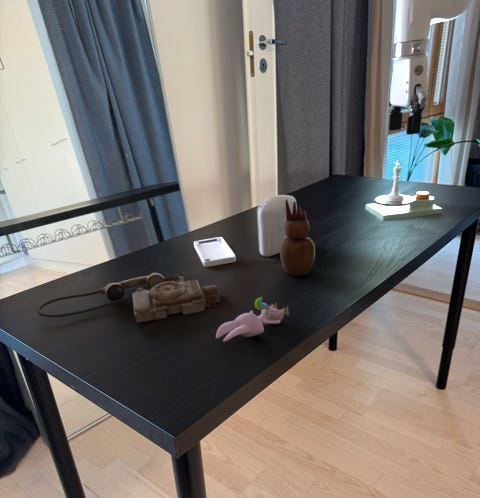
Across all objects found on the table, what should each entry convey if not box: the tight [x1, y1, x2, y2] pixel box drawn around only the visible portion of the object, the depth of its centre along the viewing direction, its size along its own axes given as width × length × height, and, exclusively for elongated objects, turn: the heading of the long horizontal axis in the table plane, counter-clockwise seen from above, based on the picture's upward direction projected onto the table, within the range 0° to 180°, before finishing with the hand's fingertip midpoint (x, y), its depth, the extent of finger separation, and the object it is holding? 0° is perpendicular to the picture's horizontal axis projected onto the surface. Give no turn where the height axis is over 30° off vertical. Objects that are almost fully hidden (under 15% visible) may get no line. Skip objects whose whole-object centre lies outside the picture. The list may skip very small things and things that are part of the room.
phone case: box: [193, 236, 237, 268], centre depth 98 cm, size 7×1×15 cm
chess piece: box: [385, 159, 404, 201], centre depth 110 cm, size 5×5×10 cm
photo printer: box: [256, 194, 298, 257], centre depth 94 cm, size 10×4×12 cm, turn 132°
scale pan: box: [374, 194, 414, 207], centre depth 112 cm, size 10×10×1 cm
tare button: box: [415, 190, 430, 200], centre depth 113 cm, size 3×3×2 cm
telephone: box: [37, 272, 222, 324], centre depth 77 cm, size 15×33×4 cm, turn 105°
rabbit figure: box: [215, 296, 290, 343], centre depth 65 cm, size 6×6×15 cm
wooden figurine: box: [279, 199, 316, 277], centre depth 81 cm, size 7×6×15 cm
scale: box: [364, 195, 443, 222], centre depth 114 cm, size 16×12×3 cm
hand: (403, 131), depth 104 cm, fingers open, 9 cm apart
